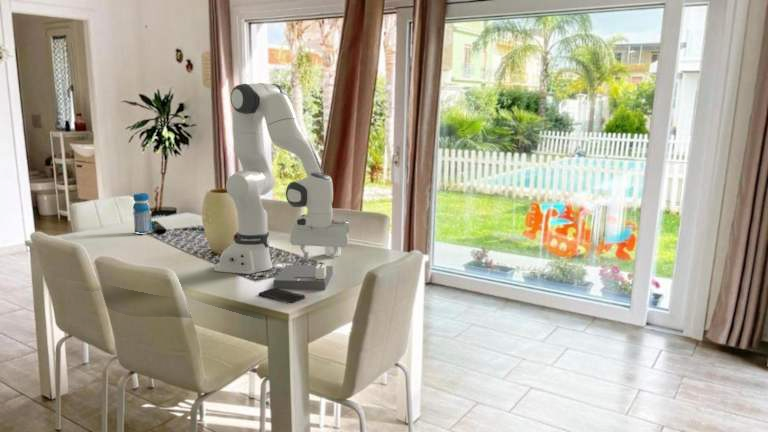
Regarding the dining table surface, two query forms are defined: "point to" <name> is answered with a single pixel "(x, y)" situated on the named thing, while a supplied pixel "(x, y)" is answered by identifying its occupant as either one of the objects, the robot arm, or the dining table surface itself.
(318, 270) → the fader knob
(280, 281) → the mixer panel
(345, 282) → the dining table surface
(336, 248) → the robot arm
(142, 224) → the beverage bottle
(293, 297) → the phone
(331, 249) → the white cup
